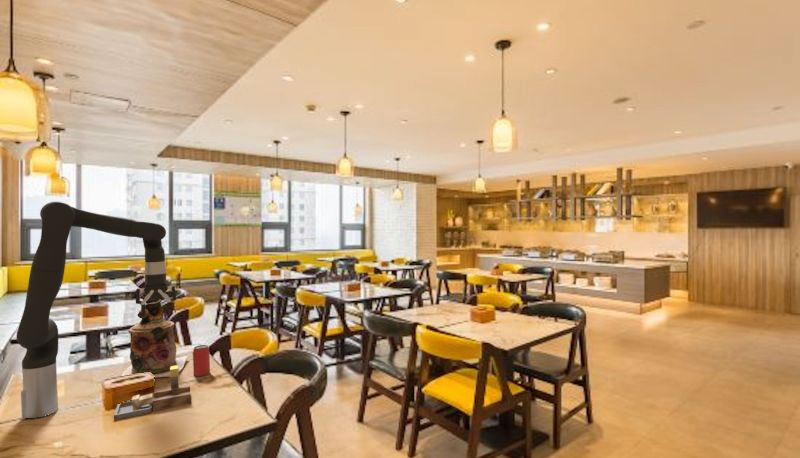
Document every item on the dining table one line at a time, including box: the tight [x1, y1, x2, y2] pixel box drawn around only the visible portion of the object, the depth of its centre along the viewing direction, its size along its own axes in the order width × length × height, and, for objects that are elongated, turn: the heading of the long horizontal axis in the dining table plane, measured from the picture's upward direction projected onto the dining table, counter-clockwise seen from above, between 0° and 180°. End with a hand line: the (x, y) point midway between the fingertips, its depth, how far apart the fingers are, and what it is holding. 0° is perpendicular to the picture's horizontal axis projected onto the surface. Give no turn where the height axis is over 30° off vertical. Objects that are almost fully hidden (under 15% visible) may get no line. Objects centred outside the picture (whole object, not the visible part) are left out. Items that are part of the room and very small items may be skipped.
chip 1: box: [131, 394, 141, 411], centre depth 151 cm, size 4×4×2 cm
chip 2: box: [139, 392, 154, 406], centre depth 153 cm, size 4×4×2 cm
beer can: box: [192, 344, 211, 377], centre depth 186 cm, size 7×7×12 cm
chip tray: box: [113, 400, 153, 421], centre depth 151 cm, size 11×12×2 cm
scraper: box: [169, 365, 180, 389], centre depth 166 cm, size 3×4×10 cm, turn 26°
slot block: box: [152, 385, 192, 412], centre depth 157 cm, size 12×9×4 cm
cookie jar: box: [120, 299, 189, 379], centre depth 192 cm, size 25×25×32 cm
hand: (156, 312), depth 173 cm, fingers open, 8 cm apart
